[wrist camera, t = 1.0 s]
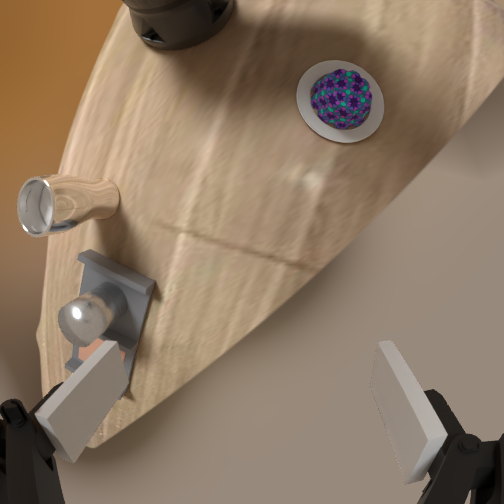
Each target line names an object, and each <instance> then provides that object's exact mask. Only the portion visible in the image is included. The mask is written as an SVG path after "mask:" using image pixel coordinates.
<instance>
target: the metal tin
mask: <svg viewBox="0 0 504 504" xmlns="http://www.w3.org/2000/svg"><path fill="white" fill-rule="evenodd" d="M126 310H127V300H126V297H125V294H124V293H123V291H122V290H121V289H120V288H119V287H118V286H117V285H116V284H114V283H111V282H103V283H101V284H99V285H98V286H96V287H94V288H93V289H91V290H89V291H88V292H86V293H84V294H83V295H81V296H79V297H78V298H76V299H75V300H73V301H71V302H70V303H68V304H66V305H65V306H63V307H62V308H61V309H60V311H59V314H58V322H59V326H60V329H61V331H62V333H63V335H64V336H65V337H66V338H67V340H68V341H69V342H71V343H72V344H74V345H75V346H78V347H87V346H89V345H90V344H91V343H93V342H94V341H95V340H96V339H97V338H98V337H99V336H100V335H101V334H103V333H104V332H105V331H106V330H107V329H108V328H109V327H110V326H112V325H113V324H114V323H115V322H116V321H117V320H118V319H119V318H121V317H122V316H123V315H124V314H125V312H126Z"/></svg>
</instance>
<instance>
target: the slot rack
mask: <svg viewBox="0 0 504 504" xmlns="http://www.w3.org/2000/svg"><path fill="white" fill-rule="evenodd" d="M77 260H79V261H81V262H82V263H84V264H85V266H84V271H83V277H82V282H81V288H80V294H79V296H81V295H83V294H84V293H86V292H88V291H89V290H91V289H93V288H94V287H96V286H98V285H99V284H101V283H103V282H111V283H114V284H116V285H117V286H118V287H119V288H120V289H121V290H122V291H123V293H124V294H125V297H126V300H127V310H126V312H125V314H124V315H123V316H122V317H121V318H119V319H118V320H117V321H116V322H115V323H114V324H113V325H112V326H110V327H109V328H108V329H107V330H106V331H105V332H104V333H103V334H101V335H100V336H99V337H98V338H97V339H96V340H95V341H94V342H93V343H91V344H90V345H89V346H87V347H78V346H75V345H74V344H73V354H72V358H71V359H70V360H69V361H68V362H67V363H65V368H67V369H68V370H70V371H71V372H73V373H74V372H75V371H76V370H77V369H78V368H79V367H80V366H81V365H82V364H83V363H84V361H85V360H86V359H87V358H88V357H89V356H90V355H91V354H92V353H93V352H94V351H95V350H96V349H97V348H98V347H99V346H100V345H101V344H102V343H103V342H104V341H105V340H108V341H117V342H118V346H119V350H120V354H121V357H122V361H123V364H124V368H125V371H126V374H127V377H128V381H129V380H130V376H131V371H132V367H133V363H134V359H135V355H136V351H137V347H138V343H139V339H140V335H141V331H142V327H143V324H144V320H145V316H146V313H147V309H148V306H149V302H150V299H151V295H152V292H153V289H154V285H155V282H156V281H154V280H152V279H150V278H148V277H146V276H144V275H142V274H140V273H137V272H135V271H133V270H131V269H129V268H127V267H125V266H123V265H121V264H119V263H117V262H115V261H113V260H111V259H109V258H107V257H105V256H103V255H101V254H99V253H97V252H95V251H93V250H91V249H89V250H87V251H84V252H82V253H79V254H78V259H77ZM128 385H129V384H128ZM128 385H127V387H126V388H125V389H124V391H123V392H122V394H121V395H120V397H119V398H118V399H119V400H120V399H121V398H122V397H123V395H124V394H125V392H126V391H127V389H128Z"/></svg>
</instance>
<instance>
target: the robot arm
mask: <svg viewBox="0 0 504 504" xmlns="http://www.w3.org/2000/svg"><path fill="white" fill-rule="evenodd" d="M122 1H123V2H124V3H125V4H126V5H127V6H128V7H129V10H130V15H131V19H132V24H133V27H134V30H135V31H136V33H137V34H138V36H139V37H140V38H141V39H142V40H143V41H144V42H146V43H147V44H148V45H150V46H152V47H154V48H157V49H162V50H179V49H185V48H189V47H192V46H195V45H197V44H200V43H202V42H204V41H206V40H207V39H209V38H211V37H212V36H213V35H215V34H216V33H217V32H218V31H220V30H221V29H222V28H223V26H224V25H225V24H226V23H227V21H228V20H229V18H230V16H231V14H232V10H233V0H122ZM128 384H129V381H128V377H127V374H126V371H125V368H124V364H123V361H122V357H121V354H120V350H119V346H118V342H117V341H108V340H105V341H104V342H103V343H102V344H101V345H100V346H99V347H98V348H97V349H96V350H95V351H94V352H93V353H92V354H91V355H90V356H89V357H88V358H87V359H86V360H85V361H84V363H83V364H82V365H81V366H80V367H79V368H78V369H77V370H76V371H75V372H74V373H73V374H72V375H71V376H70V377H69V378H68V379H67V380H66V381H65V382H61V383H60V384H58V385H56V386H54V387H53V388H52V389H51V390H50V391H49V392H48V394H46V396H45V397H44V399H42V400H41V401H40V402H39V403H38V404H37V405H36V406H35V407H34V408H33V409H32V411H30V412H29V413H27V411H26V409H25V408H24V406H23V404H22V402H21V401H20V400H17V399H10V400H6V401H5V402H3V403H2V404H1V405H0V414H1V416H2V417H3V419H4V420H2V419H0V504H65V501H64V498H63V494H62V489H61V485H60V481H59V476H58V471H57V466H56V461H55V458H54V456H53V453H54V451H55V450H56V451H57V453H58V454H59V456H60V457H61V459H64V460H66V461H69V462H71V463H75V461H76V460H77V458H78V457H79V455H80V454H81V452H82V451H83V449H84V448H85V446H86V445H87V443H88V442H89V440H90V439H91V438H92V436H93V435H94V433H95V432H96V430H97V429H98V427H99V426H100V424H101V423H102V421H103V420H104V418H105V417H106V415H107V414H108V413H109V411H110V410H111V408H112V407H113V405H114V404H115V402H116V401H117V399H118V398H119V397H120V395H121V394H122V392H123V391H124V389H125V388H126V387H127V385H128ZM370 388H371V390H372V393H373V396H374V398H375V401H376V403H377V406H378V409H379V411H380V414H381V417H382V419H383V422H384V425H385V428H386V430H387V433H388V436H389V439H390V442H391V444H392V447H393V450H394V453H395V456H396V459H397V462H398V465H399V468H400V471H401V474H402V477H403V480H404V483H405V485H406V484H409V483H413V482H417V481H421V480H423V479H424V477H425V475H426V474H427V472H428V473H429V475H430V478H431V479H430V481H429V482H428V484H427V486H426V487H425V488H424V490H423V491H422V492H423V494H422V496H421V497H420V499H419V501H418V503H417V504H464V503H465V501H466V498H467V496H468V493H469V491H470V490H471V499H470V504H504V433H503V434H502V436H501V438H500V439H499V440H497V441H487V442H481V440H480V439H479V438H478V437H477V436H475V435H472V434H466V433H465V431H464V430H463V428H462V426H461V425H460V423H459V422H458V420H457V418H456V417H455V415H454V413H453V412H452V411H451V409H450V407H449V405H447V402H446V401H445V399H444V398H443V396H442V395H441V394H440V393H438V392H437V391H435V390H434V389H432V390H427V391H423V390H422V388H421V387H420V385H419V384H418V382H417V380H416V378H415V377H414V375H413V373H412V372H411V370H410V369H409V367H408V365H407V364H406V362H405V361H404V359H403V357H402V356H401V354H400V353H399V351H398V349H397V348H396V346H395V345H394V343H393V342H392V340H390V341H380V342H377V348H376V355H375V360H374V366H373V372H372V377H371V383H370Z"/></svg>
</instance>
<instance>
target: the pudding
mask: <svg viewBox="0 0 504 504" xmlns="http://www.w3.org/2000/svg"><path fill="white" fill-rule="evenodd" d="M329 73H330V74H329ZM326 74H328V75H326ZM324 75H326V76H325V77H324V78H322V79H320V80H318V79H319V78H320V77H322V76H324ZM317 80H318V81H317ZM316 81H317V82H316ZM315 82H316V83H315ZM314 83H315V84H314ZM313 85H314V87H313ZM312 87H313V90H314V93H315V94H314V95H313V96H312V97H311V102H310V93H311V89H312ZM296 98H297V105H298V108H299V111H300V113H301V115H302V117H303V119H304V120H305V122H306V123H307V124H308V125H309V126H310V127H311V128H312V129H313V130H314V131H315V132H317V133H318V134H319V135H321V136H323V137H325V138H327V139H329V140H332V141H336V142H341V143H351V142H357V141H360V140H363V139H365V138H367V137H369V136H370V135H371V134H373V133H374V132H375V131H376V129H377V128H378V127H379V125H380V123H381V121H382V119H383V115H384V98H383V95H382V92H381V90H380V88H379V86H378V84H377V83H376V81H375V80H374V78H373V77H372V76H371V75H370V74H369V73H367V72H366V71H365V70H364V69H362V68H361V67H359V66H357V65H355V64H352V63H350V62H346V61H341V60H328V61H323V62H320V63H318V64H316V65H314V66H312V67H311V68H309V69H308V70H307V71H306V72H305V73H304V74H303V76H302V77H301V79H300V81H299V84H298V87H297V93H296ZM311 104H312V106H313V107H314V108H315V109H316V110H318V117H319V118H320V119H321V120H322V121H323V122H322V121H321V120H320V119H319V118H318V117H317V115H316V114H315V112H314V111H313V108H312V106H311ZM370 108H371V110H370ZM369 111H370V114H369V116H368V118H367V119H366V121H365V122H364V123H363V121H364V118H365V115H366V114H368V113H369ZM324 122H325V123H332V124H333V125H334V126H335V127H336V128H339V129H335V128H333V127H330V126H328V125H326V124H325V123H324ZM362 123H363V124H362ZM361 124H362V125H361ZM350 125H352V126H359V125H360V126H359V127H357V128H354V129H350V130H340V129H347V128H348V127H349V126H350Z"/></svg>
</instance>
